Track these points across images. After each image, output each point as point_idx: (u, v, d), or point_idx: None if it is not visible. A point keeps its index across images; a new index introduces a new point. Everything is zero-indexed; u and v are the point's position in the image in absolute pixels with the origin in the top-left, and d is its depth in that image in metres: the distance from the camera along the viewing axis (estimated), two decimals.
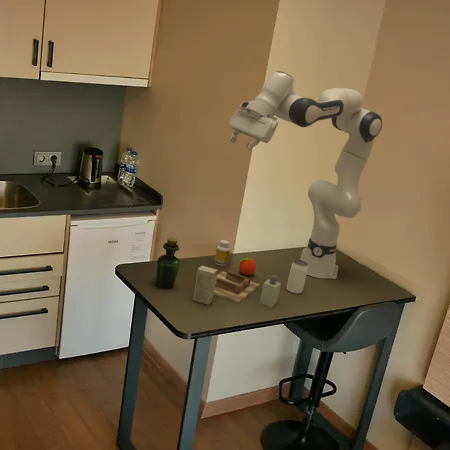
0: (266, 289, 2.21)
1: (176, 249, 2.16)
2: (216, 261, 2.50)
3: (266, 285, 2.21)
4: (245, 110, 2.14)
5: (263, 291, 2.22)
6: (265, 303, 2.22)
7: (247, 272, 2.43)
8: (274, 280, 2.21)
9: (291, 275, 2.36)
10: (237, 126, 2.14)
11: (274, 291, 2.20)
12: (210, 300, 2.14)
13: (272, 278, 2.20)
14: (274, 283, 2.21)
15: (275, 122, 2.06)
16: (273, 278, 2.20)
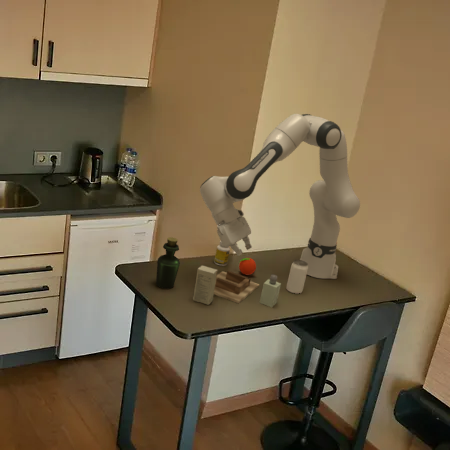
0: (266, 289, 2.21)
1: (176, 249, 2.16)
2: (216, 261, 2.50)
3: (266, 285, 2.21)
4: None
5: (263, 291, 2.22)
6: (265, 303, 2.22)
7: (247, 272, 2.43)
8: (274, 280, 2.21)
9: (291, 275, 2.36)
10: None
11: (274, 291, 2.20)
12: (210, 300, 2.14)
13: (272, 278, 2.20)
14: (274, 283, 2.21)
15: None
16: (273, 278, 2.20)
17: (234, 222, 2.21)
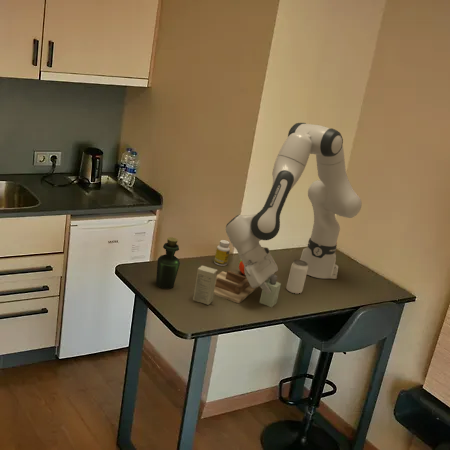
0: None
1: (176, 249, 2.16)
2: (216, 261, 2.50)
3: None
4: None
5: (263, 291, 2.22)
6: (265, 303, 2.22)
7: None
8: (274, 280, 2.21)
9: (291, 275, 2.36)
10: None
11: (274, 291, 2.20)
12: (210, 300, 2.14)
13: (272, 278, 2.20)
14: (274, 283, 2.21)
15: None
16: (273, 278, 2.20)
17: (261, 261, 2.20)
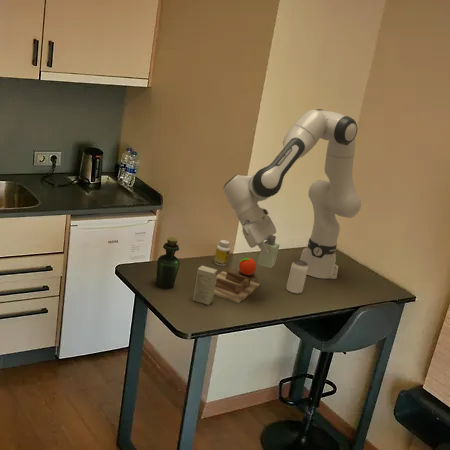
0: None
1: (176, 249, 2.16)
2: (216, 261, 2.50)
3: None
4: None
5: (261, 252, 2.19)
6: (263, 264, 2.19)
7: (247, 272, 2.43)
8: (273, 240, 2.18)
9: (291, 275, 2.36)
10: None
11: (272, 251, 2.17)
12: (210, 300, 2.14)
13: (270, 238, 2.18)
14: (272, 244, 2.18)
15: None
16: (272, 238, 2.17)
17: (259, 221, 2.17)
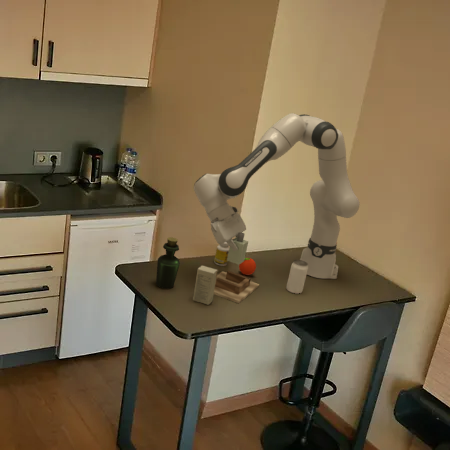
0: None
1: (176, 249, 2.16)
2: (216, 261, 2.50)
3: None
4: None
5: (230, 248, 2.24)
6: (232, 260, 2.25)
7: (247, 272, 2.43)
8: (241, 237, 2.23)
9: (291, 275, 2.36)
10: None
11: (241, 248, 2.23)
12: (210, 300, 2.14)
13: (239, 235, 2.23)
14: (241, 241, 2.24)
15: None
16: (240, 235, 2.23)
17: (228, 219, 2.23)
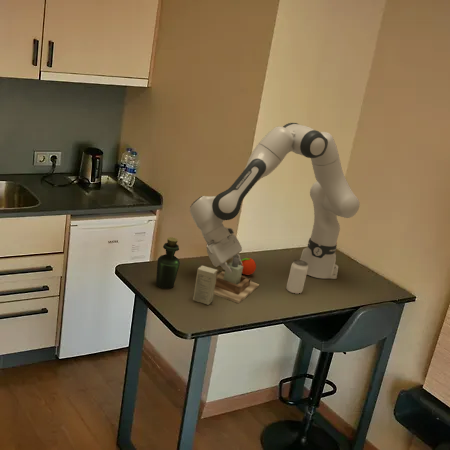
0: None
1: (176, 249, 2.16)
2: None
3: None
4: None
5: (225, 273, 2.28)
6: None
7: (247, 272, 2.43)
8: (236, 263, 2.27)
9: (291, 275, 2.36)
10: None
11: (236, 273, 2.26)
12: (210, 300, 2.14)
13: (234, 261, 2.27)
14: (236, 266, 2.27)
15: None
16: (235, 261, 2.26)
17: (224, 241, 2.26)
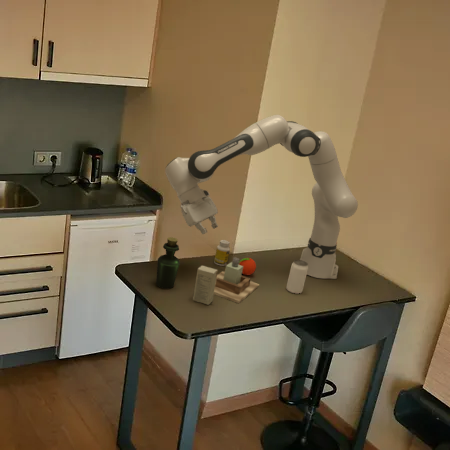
0: (228, 272, 2.27)
1: (176, 249, 2.16)
2: (216, 261, 2.50)
3: (228, 268, 2.27)
4: None
5: (225, 273, 2.28)
6: None
7: (247, 272, 2.43)
8: (236, 263, 2.27)
9: (291, 275, 2.36)
10: None
11: (236, 273, 2.26)
12: (210, 300, 2.14)
13: (234, 261, 2.27)
14: (236, 266, 2.27)
15: None
16: (235, 261, 2.26)
17: (198, 202, 2.27)
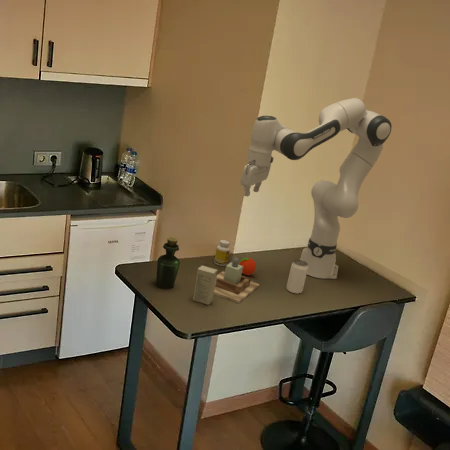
0: (228, 272, 2.27)
1: (176, 249, 2.16)
2: (216, 261, 2.50)
3: (228, 268, 2.27)
4: None
5: (225, 273, 2.28)
6: None
7: (247, 272, 2.43)
8: (236, 263, 2.27)
9: (291, 275, 2.36)
10: None
11: (236, 273, 2.26)
12: (210, 300, 2.14)
13: (234, 261, 2.27)
14: (236, 266, 2.27)
15: None
16: (235, 261, 2.26)
17: (261, 167, 2.27)
